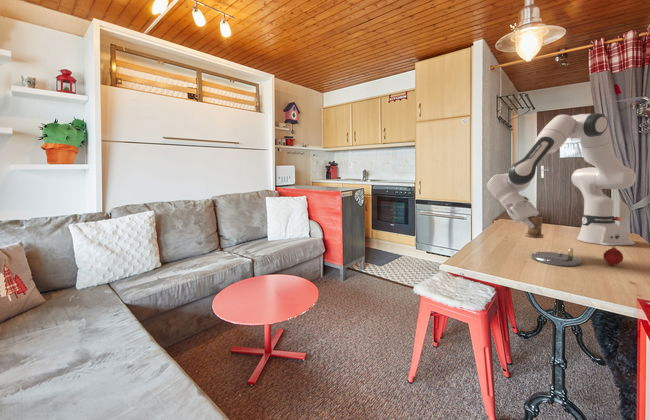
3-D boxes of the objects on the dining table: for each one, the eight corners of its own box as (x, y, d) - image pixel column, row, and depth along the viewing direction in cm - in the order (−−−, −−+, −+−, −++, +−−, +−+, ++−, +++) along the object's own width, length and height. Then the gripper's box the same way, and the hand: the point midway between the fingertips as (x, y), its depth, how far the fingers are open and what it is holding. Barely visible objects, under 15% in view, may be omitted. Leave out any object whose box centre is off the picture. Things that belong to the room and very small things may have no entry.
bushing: (538, 234, 138) (539, 215, 137) (546, 238, 132) (548, 218, 130) (521, 234, 139) (523, 215, 138) (529, 238, 133) (531, 218, 131)
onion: (625, 268, 118) (628, 248, 117) (608, 267, 119) (611, 248, 118) (614, 263, 124) (617, 244, 122) (598, 262, 125) (601, 244, 124)
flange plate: (563, 254, 137) (565, 241, 136) (590, 266, 120) (592, 252, 120) (523, 253, 140) (524, 241, 139) (544, 266, 123) (545, 251, 122)
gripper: (510, 201, 132) (533, 225, 126) (528, 197, 144) (550, 219, 138) (498, 209, 137) (521, 233, 130) (517, 205, 149) (538, 227, 142)
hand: (536, 226), depth 134 cm, fingers closed on bushing, 5 cm apart
